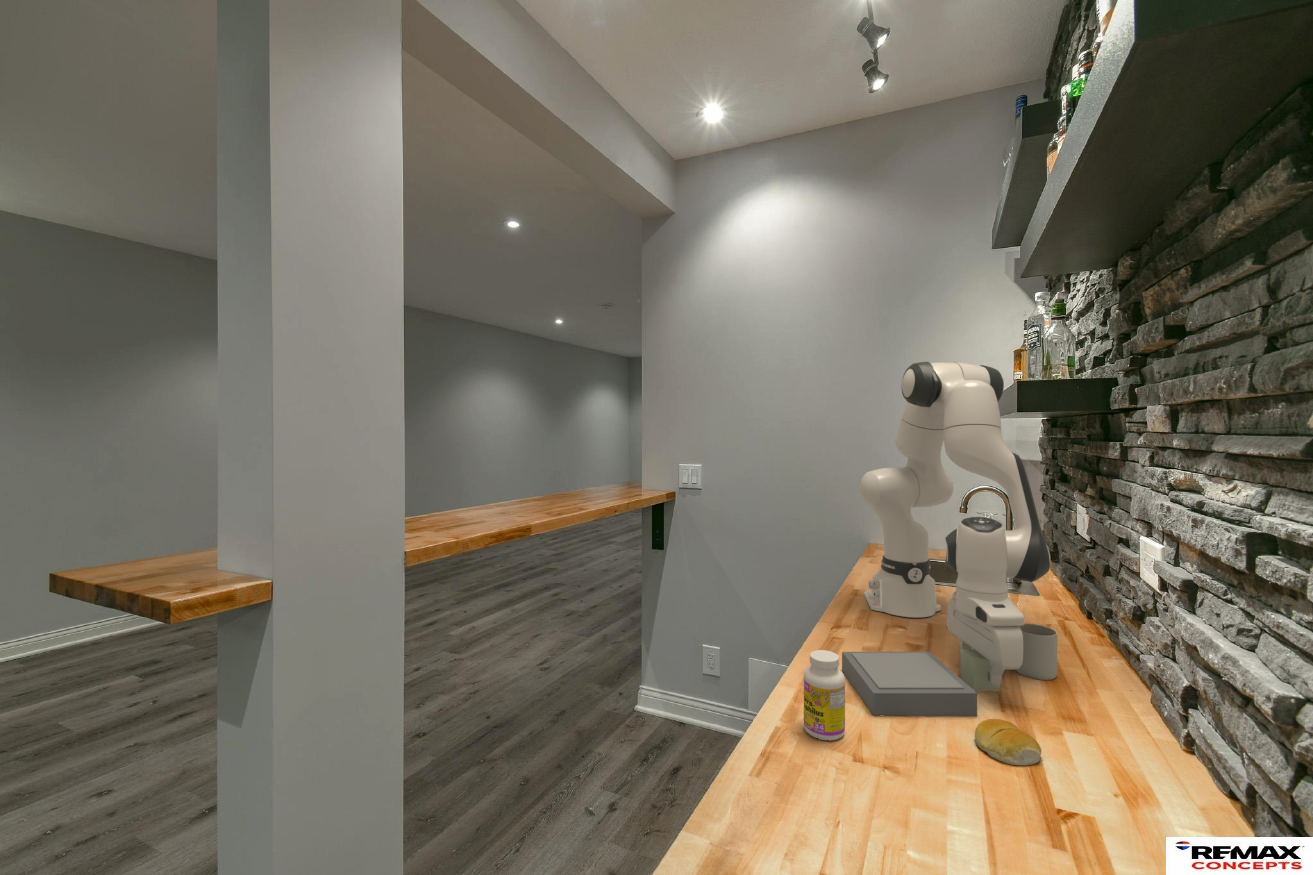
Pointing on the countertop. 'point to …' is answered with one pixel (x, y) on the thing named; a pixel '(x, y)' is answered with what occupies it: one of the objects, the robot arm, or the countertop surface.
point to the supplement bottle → (824, 696)
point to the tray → (908, 684)
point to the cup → (1039, 652)
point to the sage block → (975, 670)
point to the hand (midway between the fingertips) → (981, 672)
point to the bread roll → (1007, 742)
